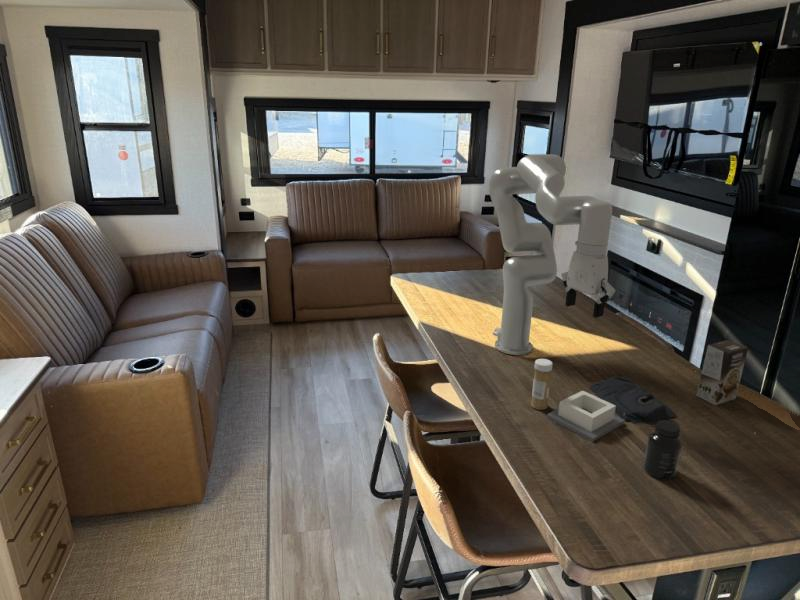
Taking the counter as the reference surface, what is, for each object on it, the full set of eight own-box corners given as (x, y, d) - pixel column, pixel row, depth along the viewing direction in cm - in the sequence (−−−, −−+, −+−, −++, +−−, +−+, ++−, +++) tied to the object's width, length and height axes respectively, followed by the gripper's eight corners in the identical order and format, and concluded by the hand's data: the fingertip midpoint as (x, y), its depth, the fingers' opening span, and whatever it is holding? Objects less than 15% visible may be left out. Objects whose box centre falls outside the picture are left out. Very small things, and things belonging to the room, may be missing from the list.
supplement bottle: (637, 462, 132) (645, 417, 128) (665, 461, 133) (674, 416, 129) (652, 481, 126) (661, 434, 122) (681, 480, 126) (691, 433, 122)
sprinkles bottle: (550, 407, 155) (556, 362, 151) (539, 412, 153) (544, 366, 148) (538, 400, 159) (543, 356, 154) (526, 404, 156) (531, 360, 152)
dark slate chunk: (630, 382, 171) (633, 368, 169) (680, 421, 151) (683, 405, 149) (584, 387, 168) (586, 372, 166) (628, 427, 147) (631, 411, 146)
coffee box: (716, 406, 158) (728, 353, 152) (695, 395, 163) (706, 344, 157) (736, 399, 162) (749, 347, 156) (715, 389, 167) (727, 338, 161)
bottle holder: (546, 417, 150) (548, 400, 149) (578, 401, 158) (580, 385, 157) (592, 441, 140) (595, 424, 138) (624, 423, 148) (627, 406, 146)
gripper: (556, 243, 153) (550, 303, 159) (608, 258, 139) (599, 323, 145) (576, 240, 157) (569, 299, 163) (629, 254, 143) (619, 318, 148)
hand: (583, 310), depth 154 cm, fingers open, 9 cm apart
